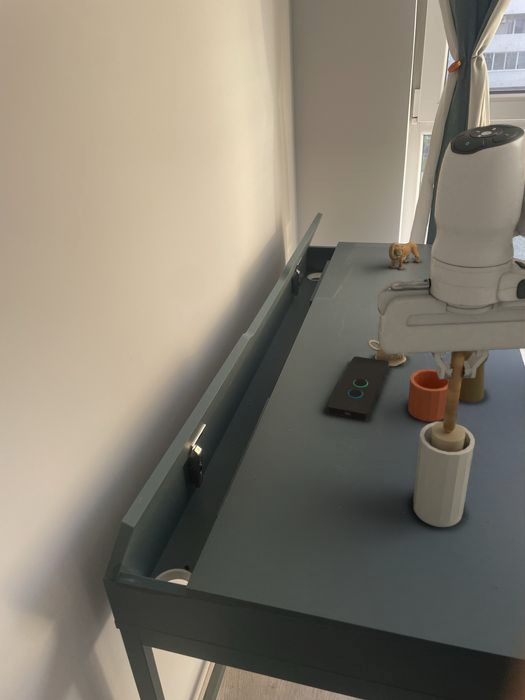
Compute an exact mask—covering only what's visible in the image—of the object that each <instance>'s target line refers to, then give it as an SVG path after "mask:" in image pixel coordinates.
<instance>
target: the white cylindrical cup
mask: <svg viewBox="0 0 525 700" xmlns="http://www.w3.org/2000/svg"><path fill="white" fill-rule="evenodd" d="M439 422H440V421H433V422H431V423H427V424H426V425H425V426H423V427H422V428H421V430H420V433H419V439H418V450H417V459H416V460H417V461H416V470H415V471H416V472H415V481H414V491H413V498H412V499H413V500H412V501H413V503H412V505H413V511H414V513H415V514H416V516H417V517H418V518H419V519H420V520H421V521H422V522H424V523H426V524H428V525H430V526H433V527H437V528H447V527H452V526H454V525H455V526H456V524H458V523H459V522H460V521H461V520H462V519H463V515H464V510H465V509H464V508H465V502H466V496H467V491H468V484H469V479H470V473H471V467H472V461H473V455H474V449H475V443H476V439H475V437H474V435H473V433H472V432H471V431H470V430H468V428H466V427H465V426H462V425H460V426H461V427H462V428H463V429H464V431H465V440H464V446H463V450H461V451H458V452H446V451H442V450H438V449H436V448H434V447H432V446H431V445H430V443H431V433H432V427H433V426H434V425H435V424H436V423H439ZM442 422H444V420H443V421H442Z"/></svg>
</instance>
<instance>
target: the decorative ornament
mask: <svg viewBox="0 0 525 700" xmlns="http://www.w3.org/2000/svg"><path fill="white" fill-rule="evenodd" d="M371 343H374V344H376V345H377V347H375V346H373V345H372V344H371ZM367 344H368V346H369V348H370V349H372V350H373V351H376V354H375V356H374V359H377V360H383V361H388V362H389V367H397V366H400V365H402V364H404V363H406V361H407V357H406V355H405V354H386V353H385V352H384V351H383V350H382V349H381V347H380V345H379V341H378V340H375V339H369V340H368V341H367Z"/></svg>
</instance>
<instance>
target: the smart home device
mask: <svg viewBox="0 0 525 700" xmlns="http://www.w3.org/2000/svg"><path fill="white" fill-rule="evenodd" d="M389 367H390V366H389V362H388V361H383V360H377V359H375V358H370V357H362V356H357V355H356V356H353V357H352V359H351V361H350V362H349V364H348V366H347V367H346V369H345V371H344V373H343V375H342V377H341V379H340V380H339V382H338V385H337V386H336V388H335V390H334V392H333V394H332V395H331V397H330V398H329V401H328V403H327V413H328V414H331V415H336V416H341V417H345V418H350V419H356V420H357V419H358V420H361V421H366V420H368V419H369V417H370V414H371V412H372V410H373V408H374V406H375V403H376V401H377V398H378V395H379V393H380V391H381V389H382V386H383V384H384V381H385V379H386V377H387V374H388V371H389Z"/></svg>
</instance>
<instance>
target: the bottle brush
mask: <svg viewBox="0 0 525 700" xmlns="http://www.w3.org/2000/svg"><path fill="white" fill-rule="evenodd" d="M450 356H451V357H450V365H451V366H452V368H453V372H452V374H451V375H452V378H451V379H449V380H448V388H447V397H446V405H445V413H444V419H443V421H444V422H443V421H438V422H439V423H436V424H435V425H434V426H433V427H432V433H431V443H430V445H431V446H432V447H434V448H436V449H438V450H442V451H446V452H458V451H461V450H463V446H464V440H465V431H464V429H463V428H462V427H461V426H462V425H460V424H458V423H457V417H458V410H459V402H460V400H459V396H460V388H461V381H462V373H463V366H464V359H465V351H454V352H451V355H450Z"/></svg>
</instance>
